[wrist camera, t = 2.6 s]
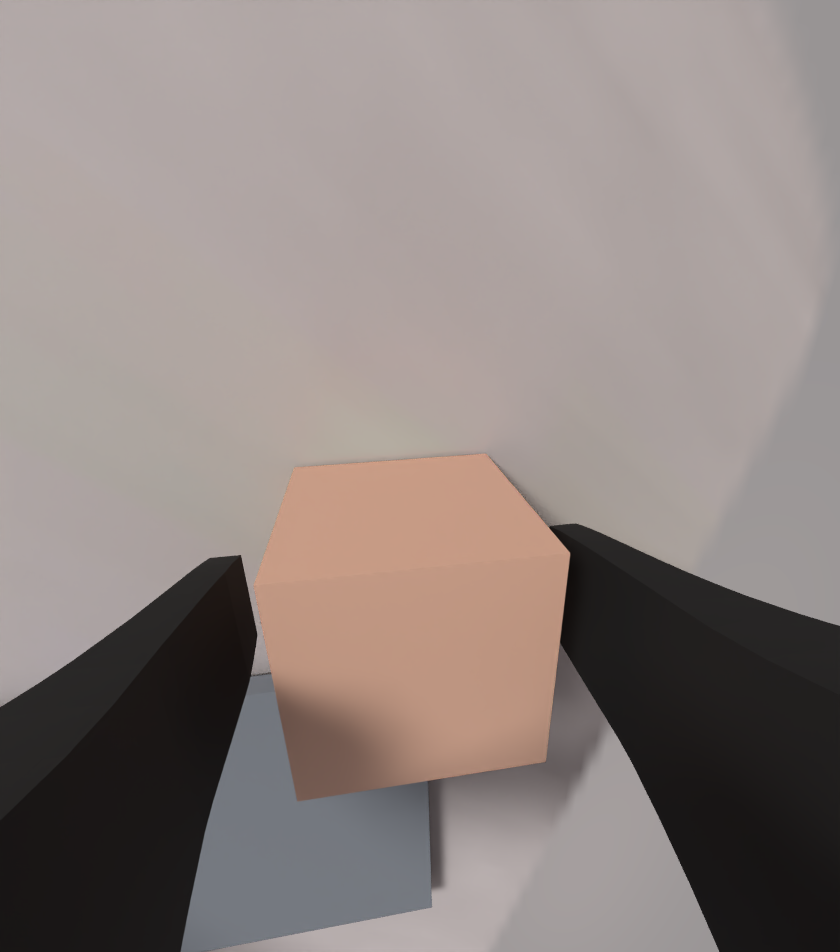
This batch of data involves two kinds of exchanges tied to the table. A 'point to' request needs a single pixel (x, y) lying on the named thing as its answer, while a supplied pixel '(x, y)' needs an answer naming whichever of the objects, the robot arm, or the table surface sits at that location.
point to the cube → (410, 623)
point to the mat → (300, 845)
